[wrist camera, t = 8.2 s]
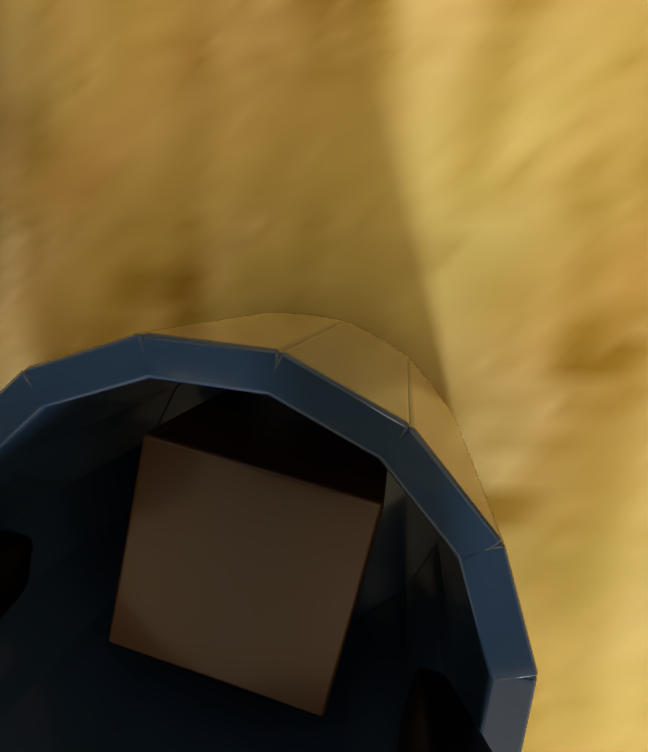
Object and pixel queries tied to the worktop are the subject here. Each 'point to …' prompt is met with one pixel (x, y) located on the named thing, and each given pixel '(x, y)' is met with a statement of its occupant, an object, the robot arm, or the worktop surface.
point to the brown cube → (248, 547)
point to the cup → (379, 586)
